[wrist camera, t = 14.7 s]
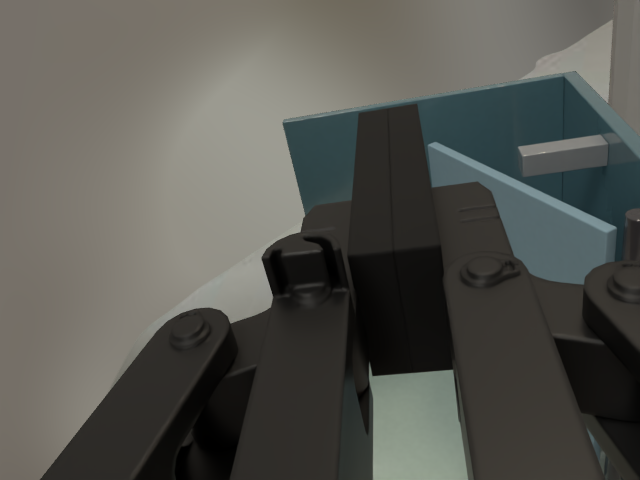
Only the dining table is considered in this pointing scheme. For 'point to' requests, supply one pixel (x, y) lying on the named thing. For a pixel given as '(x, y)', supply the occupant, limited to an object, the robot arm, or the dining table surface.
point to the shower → (503, 156)
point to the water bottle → (626, 62)
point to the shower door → (534, 223)
